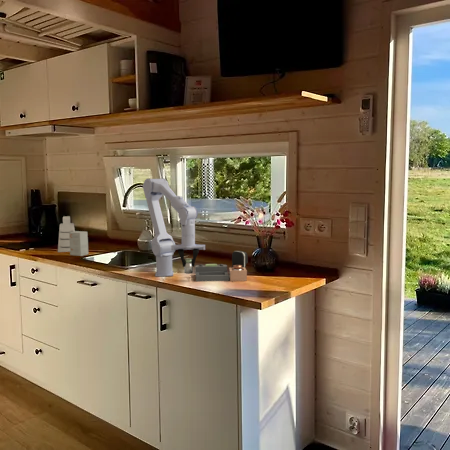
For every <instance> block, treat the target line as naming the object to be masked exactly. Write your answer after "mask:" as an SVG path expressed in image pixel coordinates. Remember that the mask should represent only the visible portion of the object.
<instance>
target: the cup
mask: <svg viewBox="0 0 450 450" xmlns="http://www.w3.org/2000/svg"><path fill="white" fill-rule="evenodd" d="M228 274H229V281H230V282H247V281H248V276H247V275H248V270H247V267H246V268H245V267H242V270H234V268H232V267H228Z"/></svg>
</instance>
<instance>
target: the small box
mask: <svg viewBox="0 0 450 450" xmlns="http://www.w3.org/2000/svg"><path fill="white" fill-rule="evenodd" d="M88 236H89V235H88V231H85V230H84V231H83V230H82V231H81V230H80V231H79V230H75V231H74V232H69V240H70V252H69V255H70V256H76V257H77V256H78V257H79V256H80V257H84V256H87V255H89V237H88Z"/></svg>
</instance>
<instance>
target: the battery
mask: <svg viewBox="0 0 450 450" xmlns="http://www.w3.org/2000/svg"><path fill="white" fill-rule="evenodd" d="M248 258H249V257H248V253H247V251H242V250H234V251H233V252H232V255H231V266H232V267H231V268H233V265H242V267H245V268H246V269H247V267H246V266H247V264H248V262H249V259H248Z"/></svg>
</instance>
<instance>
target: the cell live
mask: <svg viewBox="0 0 450 450" xmlns="http://www.w3.org/2000/svg"><path fill="white" fill-rule="evenodd" d="M183 268H184V271H183V272H184V274H186V275H187V274H189V275H190V274H193V273H194V271H193V268H194V267H193V257H191V258H189V257H187V258H185V257H184V267H183Z"/></svg>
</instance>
